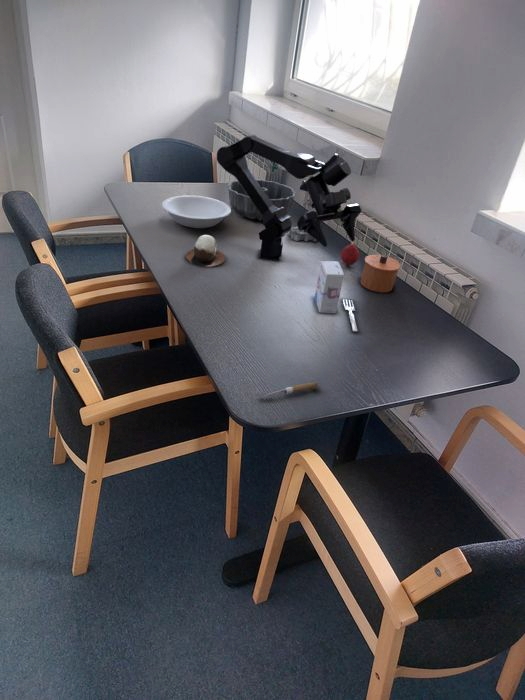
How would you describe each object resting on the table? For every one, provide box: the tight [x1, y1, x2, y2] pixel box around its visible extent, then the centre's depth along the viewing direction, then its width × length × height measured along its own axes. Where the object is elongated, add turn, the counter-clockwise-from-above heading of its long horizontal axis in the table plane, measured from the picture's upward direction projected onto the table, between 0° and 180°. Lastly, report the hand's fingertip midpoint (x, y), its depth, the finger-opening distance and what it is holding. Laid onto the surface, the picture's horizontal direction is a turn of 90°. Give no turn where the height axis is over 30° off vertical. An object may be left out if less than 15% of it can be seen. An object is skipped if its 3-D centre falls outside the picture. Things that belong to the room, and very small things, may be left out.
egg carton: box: [287, 226, 317, 242], centre depth 174 cm, size 11×8×4 cm
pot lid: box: [364, 254, 402, 271], centre depth 145 cm, size 11×11×3 cm
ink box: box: [314, 260, 345, 314], centre depth 131 cm, size 9×5×12 cm, turn 5°
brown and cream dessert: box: [185, 234, 226, 267], centre depth 150 cm, size 12×10×10 cm
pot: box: [359, 261, 399, 293], centre depth 148 cm, size 10×10×7 cm
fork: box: [342, 299, 359, 334], centre depth 132 cm, size 17×3×1 cm, turn 178°
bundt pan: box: [226, 179, 297, 222], centre depth 188 cm, size 26×26×10 cm
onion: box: [340, 241, 360, 267], centre depth 157 cm, size 6×6×8 cm
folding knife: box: [260, 381, 319, 399], centre depth 100 cm, size 14×2×2 cm, turn 115°
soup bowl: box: [161, 194, 232, 229], centre depth 172 cm, size 24×24×7 cm
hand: (339, 243), depth 137 cm, fingers open, 9 cm apart
